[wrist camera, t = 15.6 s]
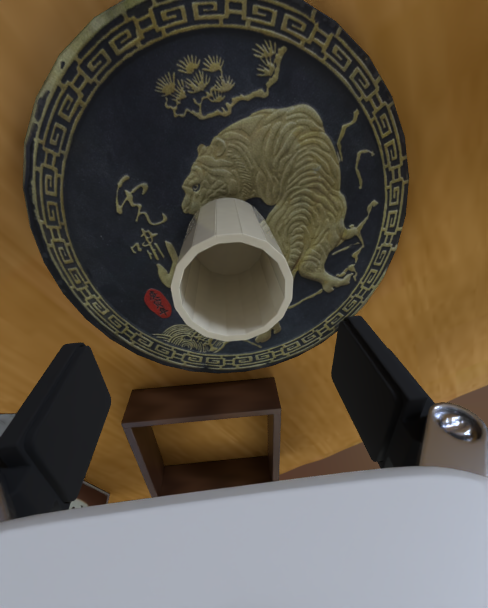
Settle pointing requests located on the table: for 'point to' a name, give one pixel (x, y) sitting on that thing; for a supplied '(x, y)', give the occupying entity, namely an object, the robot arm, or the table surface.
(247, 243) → the cup
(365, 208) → the decorative plate
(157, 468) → the wooden box
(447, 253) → the table surface
